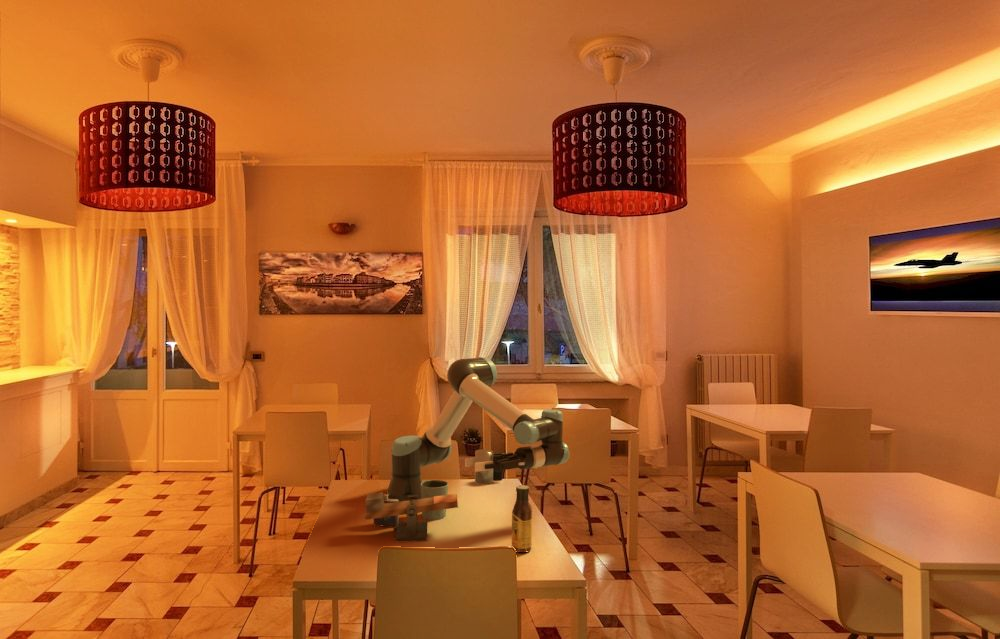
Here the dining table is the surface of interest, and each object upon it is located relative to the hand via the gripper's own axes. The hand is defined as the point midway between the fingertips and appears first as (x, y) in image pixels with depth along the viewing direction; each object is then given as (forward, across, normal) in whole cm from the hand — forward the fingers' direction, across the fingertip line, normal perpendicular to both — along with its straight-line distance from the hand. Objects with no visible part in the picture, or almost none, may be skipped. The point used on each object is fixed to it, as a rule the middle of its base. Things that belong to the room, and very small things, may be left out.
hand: (470, 465), depth 197 cm
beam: (+15, +12, -16) cm, 25 cm away
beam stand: (+15, +12, -24) cm, 31 cm away
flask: (+20, +24, -24) cm, 40 cm away
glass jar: (-5, 0, -6) cm, 8 cm away
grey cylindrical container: (+2, +24, -24) cm, 34 cm away
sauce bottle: (-9, -18, -24) cm, 31 cm away
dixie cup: (-42, +53, -24) cm, 72 cm away
